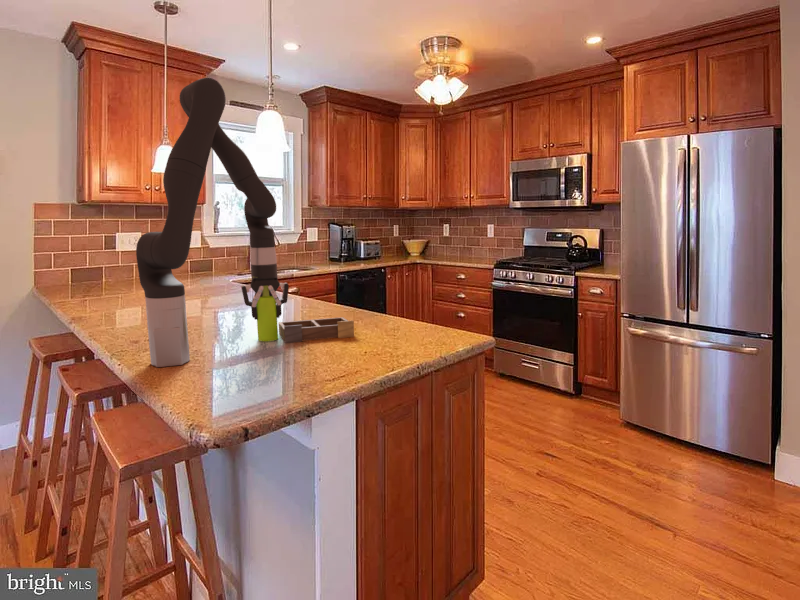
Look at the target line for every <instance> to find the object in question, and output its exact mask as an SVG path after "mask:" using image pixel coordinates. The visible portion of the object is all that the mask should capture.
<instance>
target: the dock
mask: <svg viewBox="0 0 800 600" xmlns="http://www.w3.org/2000/svg"><path fill="white" fill-rule="evenodd" d="M278 335H279V336H280V338H281V339H282V341H284V343H285V344H289V343H299V342H303V341H311V340H313V341H315V340H323V339H333V338H335V339H336V338H337V339H345V338H354V337H355V320H348V319H347V318H346V317H343V316H341V317H330V318H317V319H304V320H303V319H302V320H291V321H279V322H278Z"/></svg>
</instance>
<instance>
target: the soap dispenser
mask: <svg viewBox="0 0 800 600" xmlns="http://www.w3.org/2000/svg"><path fill="white" fill-rule="evenodd" d="M263 287H264V288H263V291H262V292H263V297H260V298H259V300H258V302H257V304H256V307H257V319H256V324H257V325H256V327H257V328H256V329H257V340H258V341H259V342H273V341H278V339H279V327H278V318H277V311H276V301H275V299H274V297H273V296H270V295H269V289H268V286H263Z"/></svg>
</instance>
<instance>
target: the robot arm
mask: <svg viewBox="0 0 800 600" xmlns="http://www.w3.org/2000/svg"><path fill="white" fill-rule="evenodd" d="M226 100H227V98H226V92H225V90H224V88H223V86H222V85H221V83H220V82H219V81H218V80H216V79H214V78H212V77H202V78H199V79H197V80H195V81H193V82H191V83H189V84H187V85H185V86H184V87H183V88H182V89H181V91H180V93H179V104H180V106H181V108H182V110H183V112H184V113H185V115H186V116H187V118H188V119H187V122H186V124H185V126H184V129H183V130H182V131H181V133H180V135H179V136H178V138H177V140H176V142H175V143H174V145H173V147H172V148H171V150H170V153H169V155H168V158H167V161H166V165H165V169H164V172H163V177H162V180H163V181H162V183H163V184H162V185H163V189H164V194H165V198H166V201H167V215H166V219H165V223H164V226H163V228H162V229H163V230H162V231H149V232H148V231H147V232H145V233H144V234H142V235H141V236H140V237H139V238H138V241H137V243H136V249H135V252H136V254H135V256H136V264H137V270H138V271H137V272H138V278H139V283H140V286H141V288H142V290H143V292H144V298H145V312H146V322H147V333H148V334H147V335H148V347H149V356H150V357H149V358H150V364H151V365H152V366H154V367H155V368H161V367H162V368H163V367H172V366H182V365H184V364H186V363H188V362H190V360H191V359H190V358H191V357H190V344H189V331H188V318H187V305H186V304H187V303H186V291H185V290H186V289H185V285H184V283H182V282H181V281H180V280H178V279H177V278H176V277H175V276H174V274H173V271H172V270H177V269H180V268H181V267H182V266H183V265H184V264H185V263H186V261H187V259H188V257H189V253H190V250H191V249H190V248H191V242H192V241H191V240H192V234H193V228H194V227H193V226H194V221H195V220H194V219H195V215H196V210H197V207H198V202H199V197H200V194H201V191H202V190H201V189H202V187H203V183H204V180H205V174H206V173H207V172H206V171H207V165H208V162H209V158H210V153H211V150H212V151H213V152H214V153H215V154H216V156H217V157H218V159H219V161H220V162H221V164H222V166H223V167H224V169H225V171H226V173H227V174H228V177H229V178H230V180H231V182H232V184H233V185H234V186H235V188H236V189H237V190H238V191H239V192H241V193H243V194H244V195H245V197H246V199H245V202H244V207H243V208H244V209H243V211H244V212H243V213H244V217H245V222H246V225H247V228H248V231H249V244H250V245H249V246H250V253H249V255H250V256H249V257H250V259H249V262H250V263H249V264H250V273H251V275H250V277H251V280H250V281H251V282H250V283H249V284H247V285H246V284H242V285H241V292H242V297H243V301H244V305H245V306H246V307H247V306H249V307H250V308H251V316H252V318H253V319H254V320H256V321H257V307H256V304H257V302H258V300H259V298H260V297H263V292H262V291H263V288H264V287H263V286H268V289H269V295H270V296H273V297H274V299H275V301H276V311H277V319H279V318H280V316H281V317H282V305H283V304H286V303H287V302H288V297H289V296H288V295H289V286H290V285H289V283H288V282H280V281H279V279H278V278H279V277H278V263H277V261H278V259H277V251H276V244H275V243H276V242H275V239H276V238H275V232H274V230H273V228H272V227H270V224H269V221H268V219H269V218H271V217H273V216H274V215H275V214H276V212H277V203H276V199H275V197H274V196H273V194H272V192H271V191H270V190H269V189H268V187H267V186H266V184H265V183H264V182H263V181H262V180H261V179H260V178H259V176H258V175H257V172H256V170H255V169H254V167H253V164H252V163H251V160H250V159H249V158H248V156H247V154H246V153H245V152H244V150H243V149H241V147H240V146H239V145H238V144H236V142H234V141H233V140H232V138H231V137H229V136H228V135H227V133H226V132H225V131H224V129H223V128H222V127H221V125H220V123H219V122H220V121H221V118H222V116H223V113H224V110H225V107H226V102H227V101H226ZM279 287H280V289H281V290H282V296H281V297H282V298H281V299H280V298H279V296H278V294H277V290H278V289H279ZM250 289H251V290H253V292H254V295H253V298H252V300H251V301H250V300H249V299H250V298H249V295H248V293H249V292H250ZM151 365H150V366H151Z"/></svg>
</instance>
